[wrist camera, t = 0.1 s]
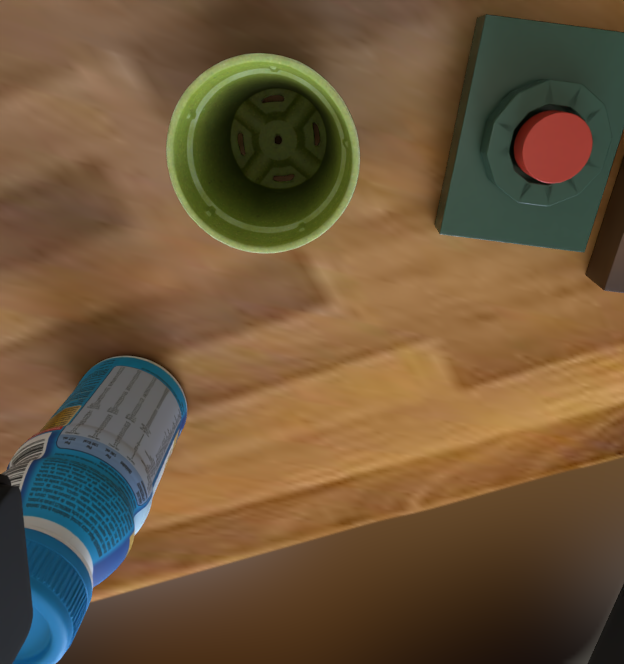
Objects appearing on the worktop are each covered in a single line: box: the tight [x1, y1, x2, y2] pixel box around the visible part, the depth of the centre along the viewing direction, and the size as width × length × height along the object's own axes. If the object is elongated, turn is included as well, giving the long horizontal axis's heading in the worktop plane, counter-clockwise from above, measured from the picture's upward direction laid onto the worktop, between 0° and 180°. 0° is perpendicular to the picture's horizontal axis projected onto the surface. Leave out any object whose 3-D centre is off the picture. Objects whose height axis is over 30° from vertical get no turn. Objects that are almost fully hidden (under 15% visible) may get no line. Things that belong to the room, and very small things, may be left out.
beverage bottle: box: [2, 356, 187, 664], centre depth 35 cm, size 8×8×20 cm
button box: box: [435, 14, 624, 252], centre depth 34 cm, size 12×9×4 cm
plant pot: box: [166, 53, 360, 253], centre depth 33 cm, size 9×9×9 cm
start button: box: [514, 110, 593, 183], centre depth 32 cm, size 4×4×2 cm
